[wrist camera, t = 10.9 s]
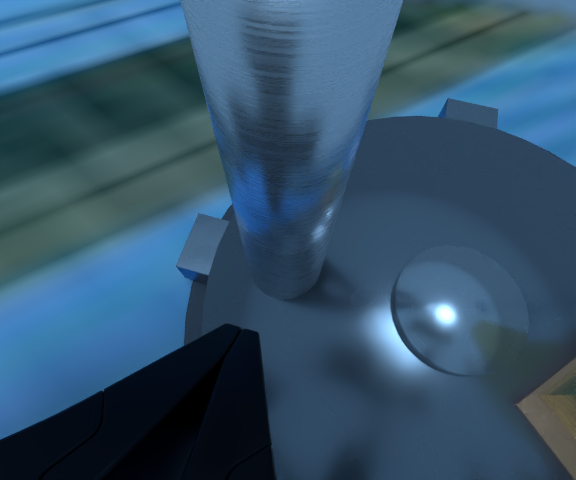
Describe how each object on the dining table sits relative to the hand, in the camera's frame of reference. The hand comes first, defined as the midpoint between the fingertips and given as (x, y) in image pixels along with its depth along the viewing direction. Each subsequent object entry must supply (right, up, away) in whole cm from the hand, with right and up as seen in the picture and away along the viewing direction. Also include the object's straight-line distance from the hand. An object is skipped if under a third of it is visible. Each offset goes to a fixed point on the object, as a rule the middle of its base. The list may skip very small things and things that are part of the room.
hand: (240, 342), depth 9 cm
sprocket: (+8, -1, +8) cm, 11 cm away
